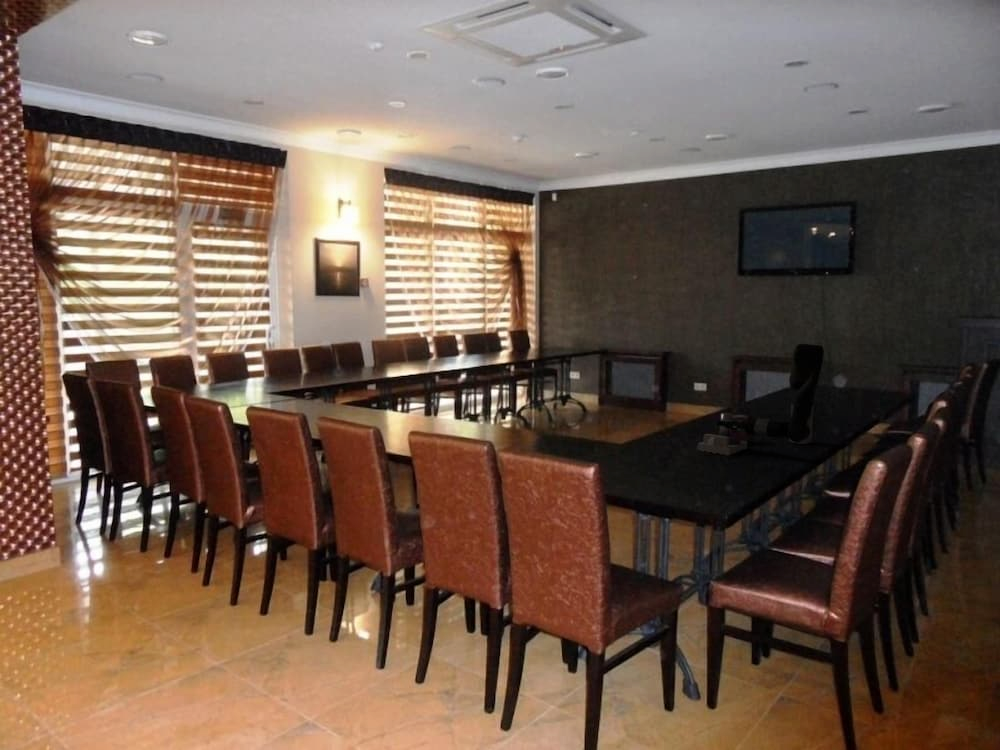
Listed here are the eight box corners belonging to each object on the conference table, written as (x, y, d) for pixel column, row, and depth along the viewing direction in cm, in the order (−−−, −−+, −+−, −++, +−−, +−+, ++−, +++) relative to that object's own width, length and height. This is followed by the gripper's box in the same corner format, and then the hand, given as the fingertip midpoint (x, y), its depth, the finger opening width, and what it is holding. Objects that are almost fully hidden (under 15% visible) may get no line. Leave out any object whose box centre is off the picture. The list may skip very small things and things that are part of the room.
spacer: (722, 434, 316) (723, 412, 315) (733, 436, 313) (734, 413, 312) (717, 436, 312) (718, 413, 311) (728, 438, 309) (729, 415, 308)
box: (729, 443, 324) (730, 417, 322) (720, 441, 329) (722, 415, 328) (747, 442, 328) (749, 416, 326) (739, 439, 333) (740, 414, 331)
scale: (716, 443, 323) (716, 428, 322) (746, 448, 314) (747, 432, 313) (697, 450, 309) (698, 434, 308) (729, 455, 300) (729, 439, 299)
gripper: (765, 416, 308) (727, 411, 319) (752, 420, 297) (713, 415, 308) (764, 433, 308) (726, 428, 319) (751, 438, 298) (712, 432, 309)
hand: (720, 422), depth 313 cm, fingers closed on spacer, 5 cm apart
